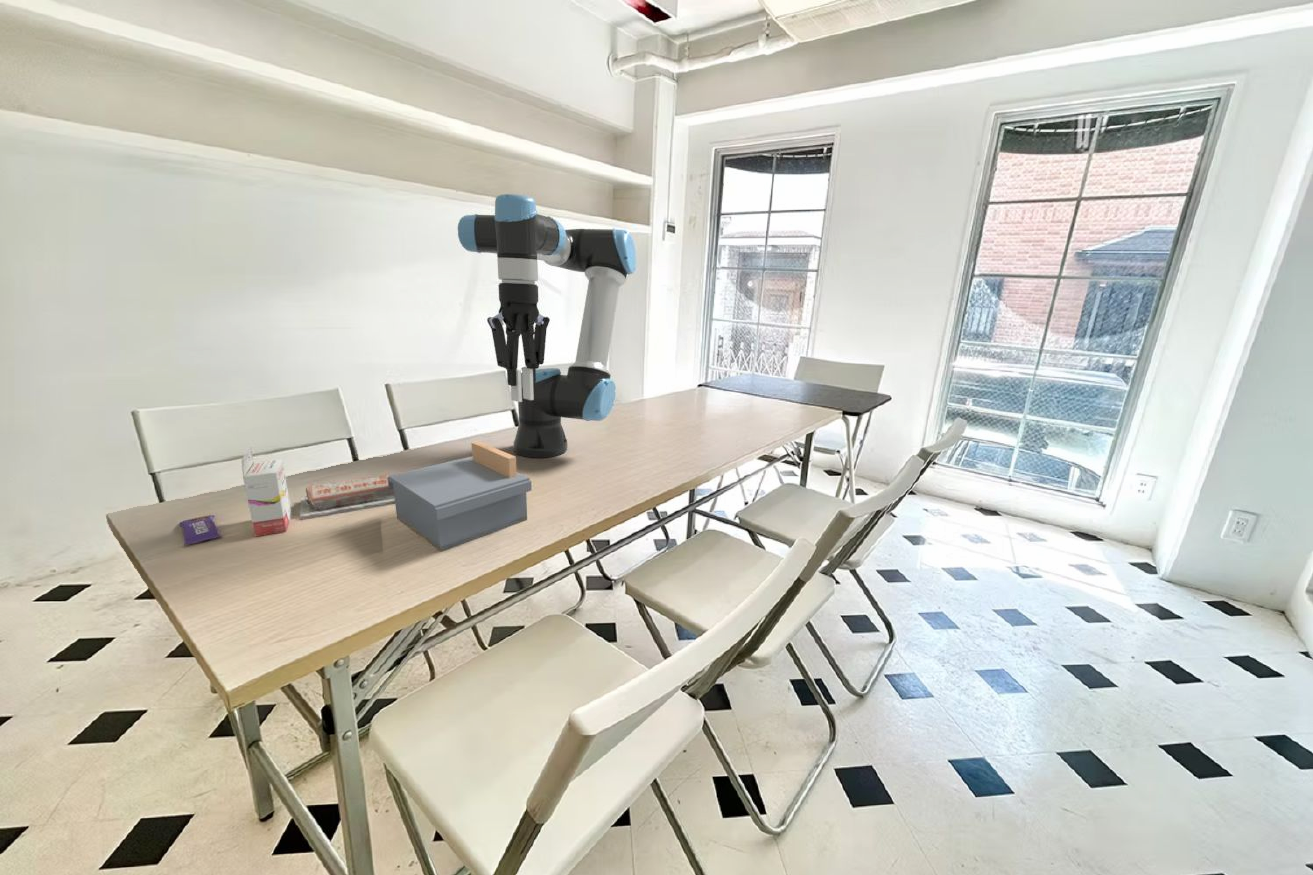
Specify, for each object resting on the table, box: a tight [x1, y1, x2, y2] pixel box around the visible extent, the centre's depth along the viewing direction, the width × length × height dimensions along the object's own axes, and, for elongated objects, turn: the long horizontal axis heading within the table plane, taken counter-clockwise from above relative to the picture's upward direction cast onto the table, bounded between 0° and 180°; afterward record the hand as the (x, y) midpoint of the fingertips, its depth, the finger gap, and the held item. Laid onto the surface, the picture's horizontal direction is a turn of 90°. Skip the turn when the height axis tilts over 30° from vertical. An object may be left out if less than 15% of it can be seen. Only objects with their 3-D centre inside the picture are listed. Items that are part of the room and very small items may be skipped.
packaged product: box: [299, 474, 395, 521], centre depth 105 cm, size 18×5×10 cm
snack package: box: [179, 514, 222, 546], centre depth 91 cm, size 12×2×5 cm
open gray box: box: [393, 484, 528, 553], centre depth 99 cm, size 18×18×8 cm
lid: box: [387, 440, 532, 520], centre depth 97 cm, size 19×20×6 cm
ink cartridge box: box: [241, 447, 293, 537], centre depth 93 cm, size 9×5×15 cm, turn 29°
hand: (522, 399), depth 104 cm, fingers open, 2 cm apart
